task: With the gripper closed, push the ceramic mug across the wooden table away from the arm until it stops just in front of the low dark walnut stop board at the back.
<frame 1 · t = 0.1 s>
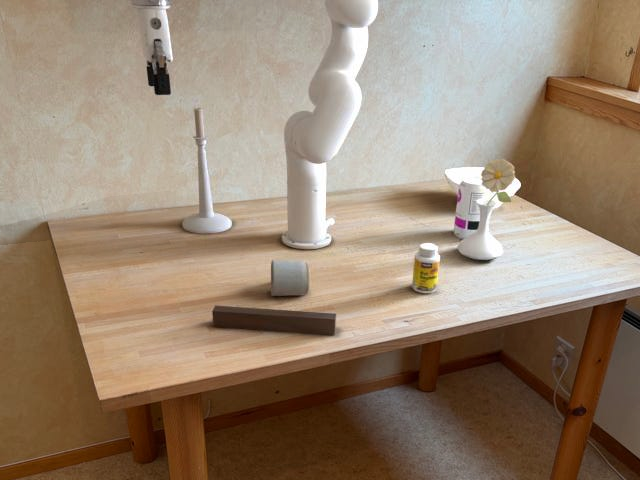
hand: (159, 90, 145), 37 cm above the table, tool pointing down, fingers open, 9 cm apart
flower in vase: (481, 257, 173), on the table
stop board: (274, 328, 136), on the table
supplement can: (468, 236, 185), on the table
bowl: (478, 205, 207), on the table
supplement bottle: (424, 289, 155), on the table
ceramic mug: (288, 291, 151), on the table
candlestick: (207, 225, 183), on the table
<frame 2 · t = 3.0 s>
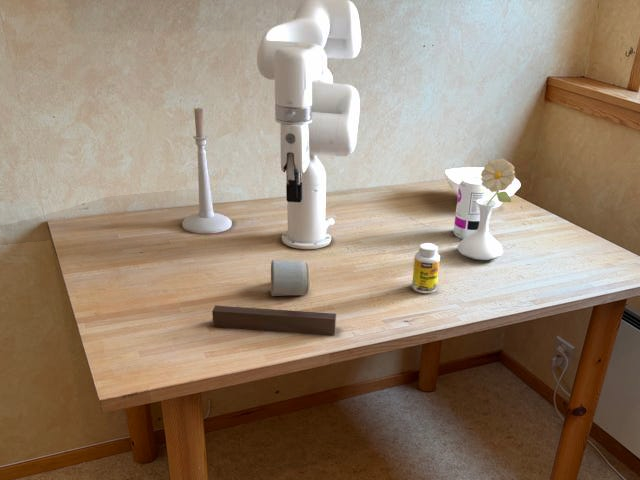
hand: (294, 200, 150), 17 cm above the table, tool pointing down, fingers closed
nothing on the table moved.
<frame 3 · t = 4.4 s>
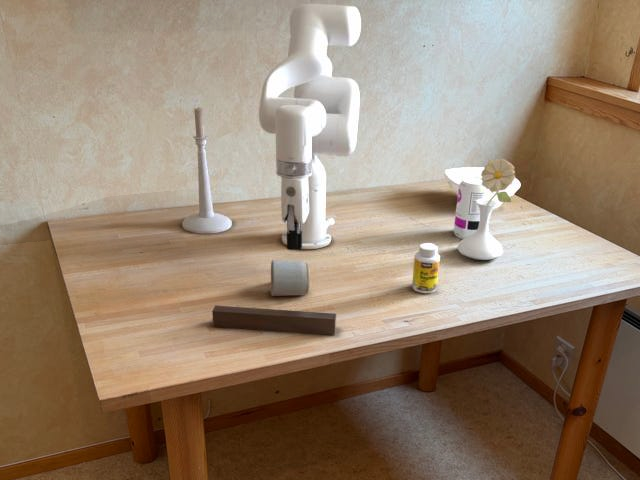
hand: (294, 248, 156), 6 cm above the table, tool pointing down, fingers closed
nothing on the table moved.
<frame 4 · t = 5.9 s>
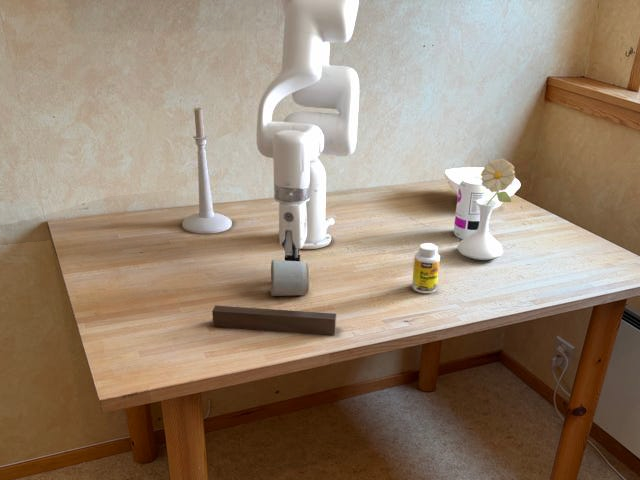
hand: (292, 271, 155), 2 cm above the table, tool pointing down, fingers closed
ceramic mug: (288, 292, 151), on the table, touching gripper
everything else where it was.
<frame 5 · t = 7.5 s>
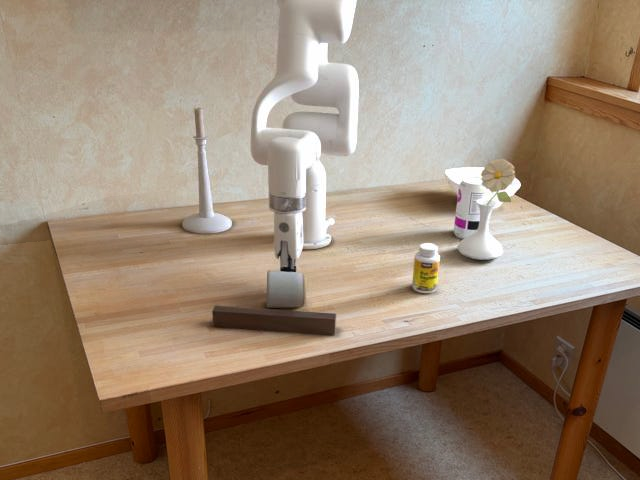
hand: (288, 283, 149), 2 cm above the table, tool pointing down, fingers closed
ceramic mug: (284, 303, 146), on the table, touching gripper
everything else where it was.
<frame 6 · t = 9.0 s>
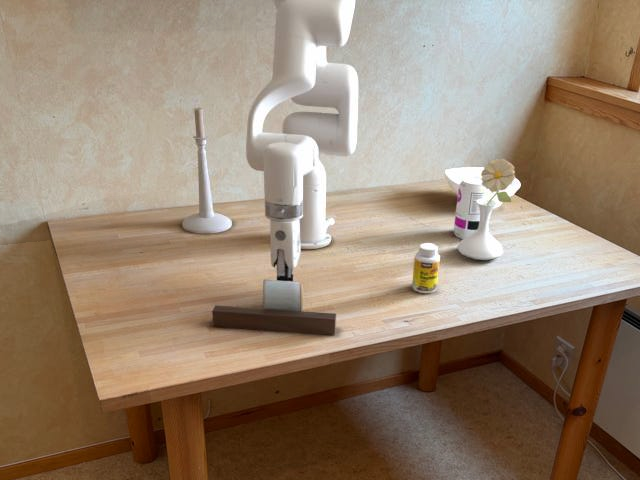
hand: (285, 292, 145), 2 cm above the table, tool pointing down, fingers closed
ceramic mug: (281, 313, 142), on the table, touching gripper, stop board
everything else where it was.
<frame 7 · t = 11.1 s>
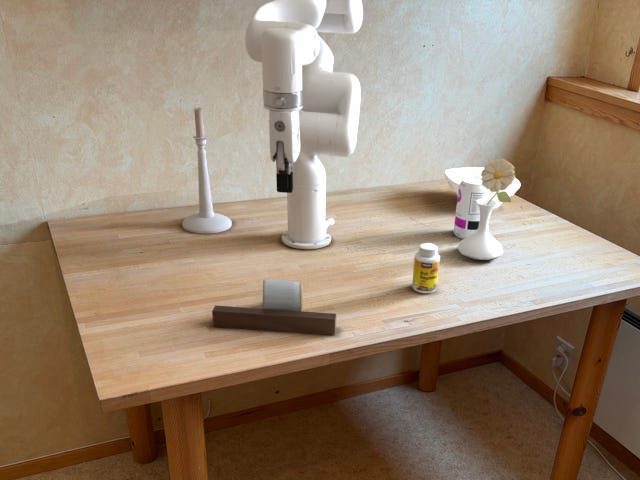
hand: (285, 191, 143), 21 cm above the table, tool pointing down, fingers closed
ceramic mug: (281, 313, 142), on the table
everything else where it was.
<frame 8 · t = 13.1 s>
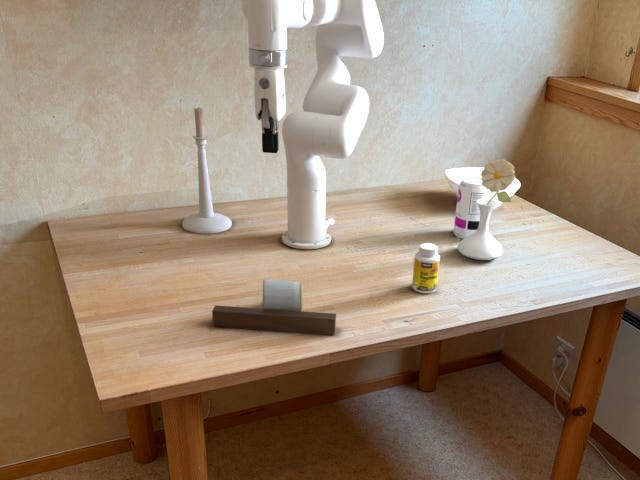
hand: (270, 151, 146), 27 cm above the table, tool pointing down, fingers closed
nothing on the table moved.
at the end: ceramic mug 6.9 cm from the stop board (horizontally); ceramic mug moved 10.1 cm from its start; ceramic mug tilted 2° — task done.
